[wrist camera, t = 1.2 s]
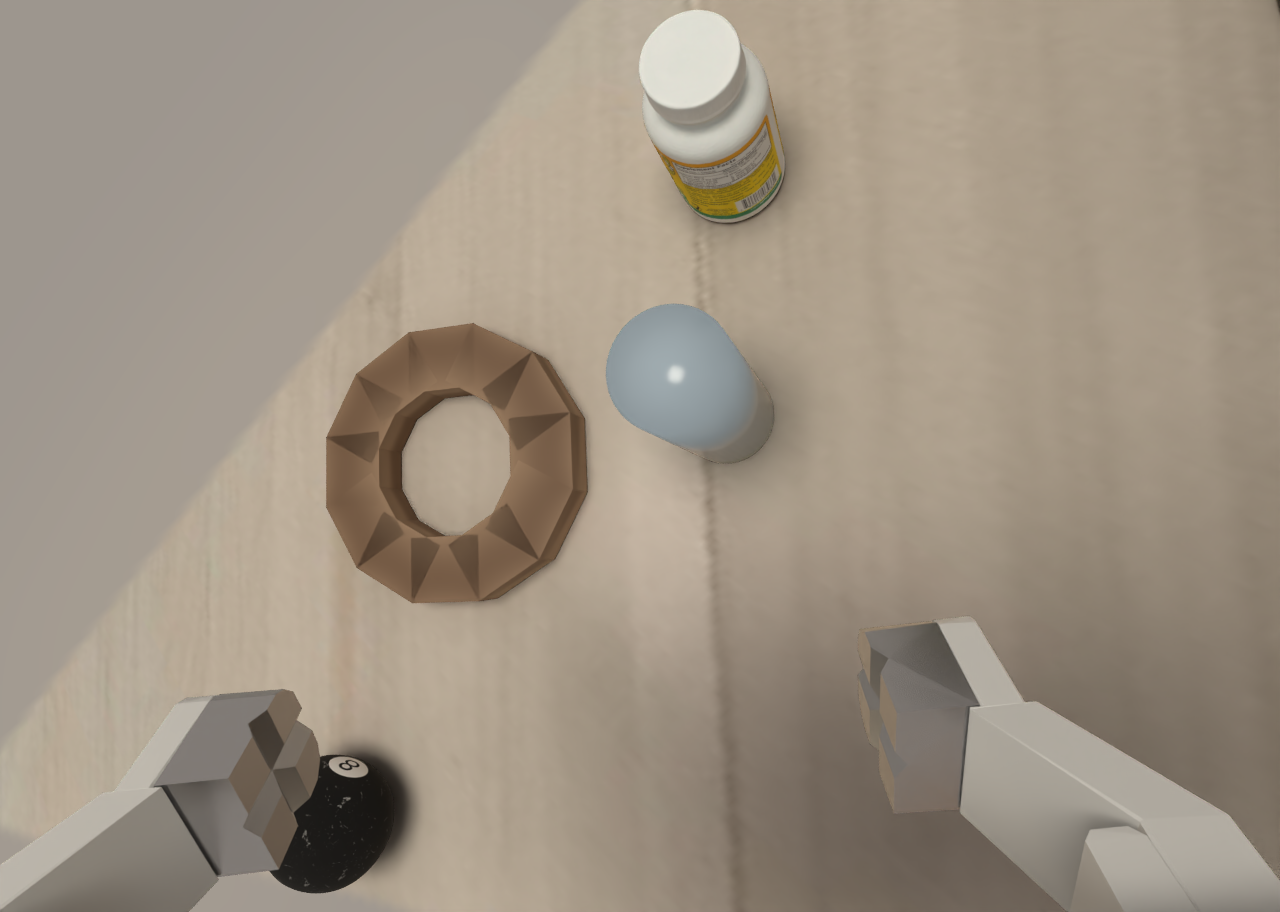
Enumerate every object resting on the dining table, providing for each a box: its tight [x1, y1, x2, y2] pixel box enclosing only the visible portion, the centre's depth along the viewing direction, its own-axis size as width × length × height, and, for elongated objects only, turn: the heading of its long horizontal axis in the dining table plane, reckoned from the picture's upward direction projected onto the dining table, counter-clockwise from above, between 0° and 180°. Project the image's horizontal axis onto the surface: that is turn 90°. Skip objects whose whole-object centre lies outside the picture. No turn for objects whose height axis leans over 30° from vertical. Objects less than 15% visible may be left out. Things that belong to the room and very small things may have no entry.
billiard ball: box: [270, 755, 394, 893], centre depth 38 cm, size 6×6×6 cm
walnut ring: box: [326, 323, 588, 603], centre depth 40 cm, size 14×14×2 cm
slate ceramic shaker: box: [606, 304, 774, 464], centre depth 32 cm, size 5×5×11 cm
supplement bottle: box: [639, 10, 785, 223], centre depth 34 cm, size 5×5×10 cm
